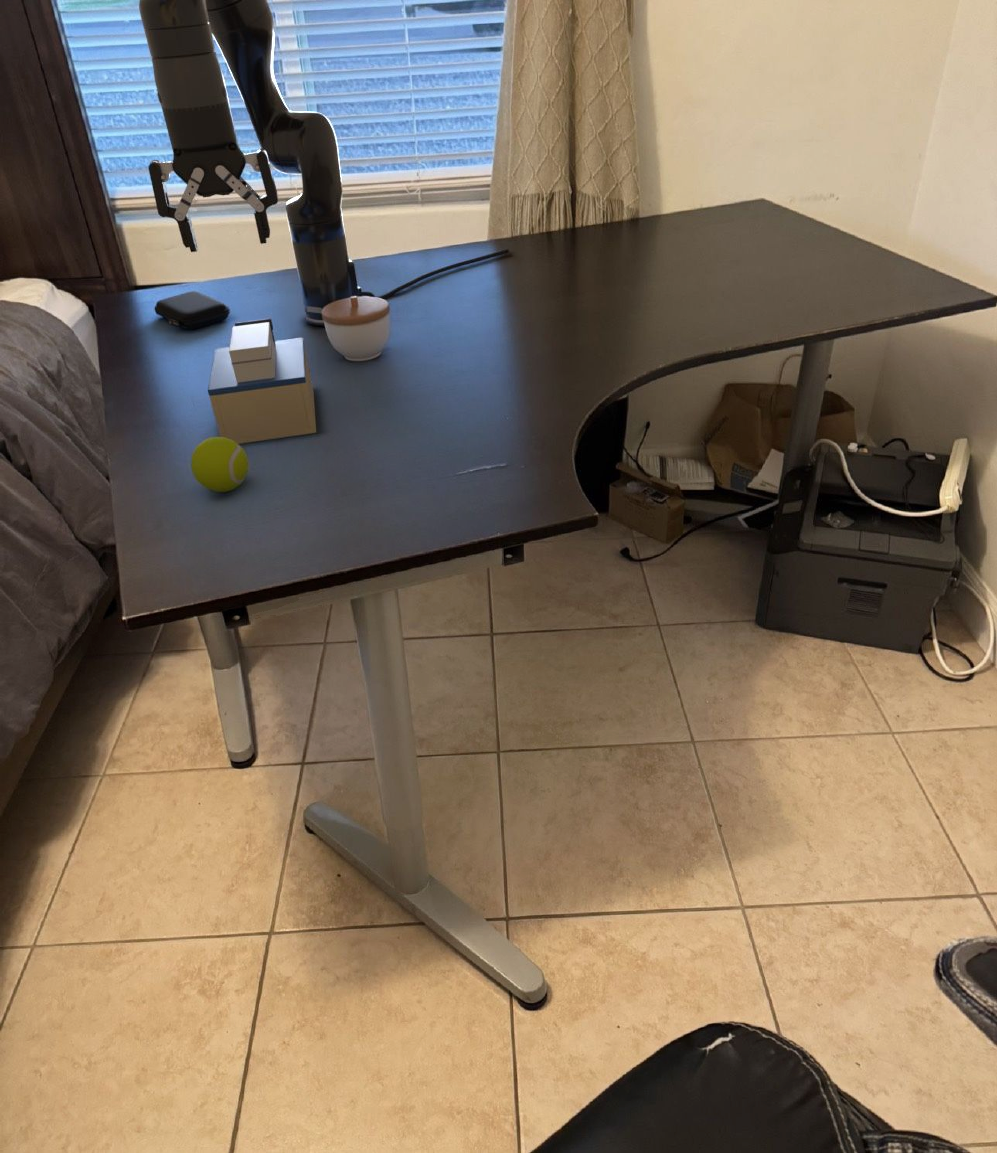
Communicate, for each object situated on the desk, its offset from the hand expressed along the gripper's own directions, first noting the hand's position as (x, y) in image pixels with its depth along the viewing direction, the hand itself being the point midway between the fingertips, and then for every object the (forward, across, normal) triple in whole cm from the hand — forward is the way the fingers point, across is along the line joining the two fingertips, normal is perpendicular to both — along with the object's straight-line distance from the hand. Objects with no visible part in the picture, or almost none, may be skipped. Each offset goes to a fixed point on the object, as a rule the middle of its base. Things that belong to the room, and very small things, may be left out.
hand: (229, 246), depth 109 cm
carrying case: (+24, +15, -51) cm, 58 cm away
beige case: (+16, 0, 0) cm, 16 cm away
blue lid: (+17, 0, -2) cm, 17 cm away
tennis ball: (+24, +5, +18) cm, 31 cm away
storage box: (+24, 0, -2) cm, 24 cm away
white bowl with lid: (+24, -15, -21) cm, 35 cm away
